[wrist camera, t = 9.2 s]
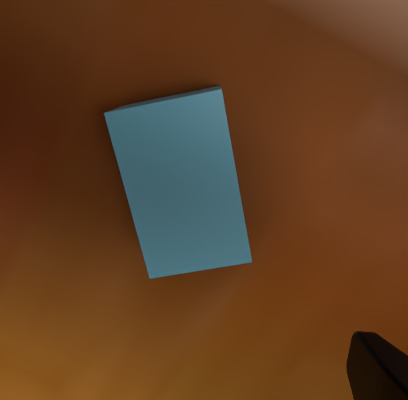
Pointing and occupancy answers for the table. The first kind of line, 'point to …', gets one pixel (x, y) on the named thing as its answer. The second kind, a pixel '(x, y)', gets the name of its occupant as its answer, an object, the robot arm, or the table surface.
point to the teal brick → (181, 181)
